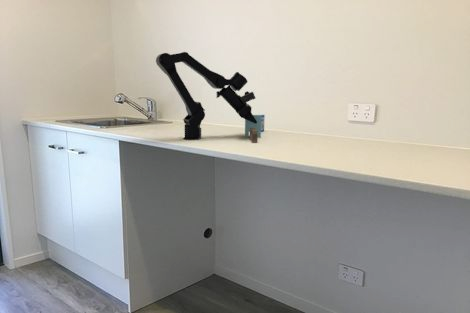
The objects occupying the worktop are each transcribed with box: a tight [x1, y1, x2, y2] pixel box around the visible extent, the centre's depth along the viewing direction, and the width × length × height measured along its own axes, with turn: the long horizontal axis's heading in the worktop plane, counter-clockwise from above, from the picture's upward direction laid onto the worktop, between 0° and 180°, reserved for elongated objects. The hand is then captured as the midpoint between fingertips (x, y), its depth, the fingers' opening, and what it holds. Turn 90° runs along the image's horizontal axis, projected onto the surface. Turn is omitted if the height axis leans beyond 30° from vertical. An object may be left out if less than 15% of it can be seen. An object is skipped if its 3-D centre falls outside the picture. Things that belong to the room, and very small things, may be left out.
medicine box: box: [249, 114, 266, 133], centre depth 190 cm, size 8×4×9 cm, turn 143°
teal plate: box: [244, 114, 262, 138], centre depth 171 cm, size 7×3×10 cm, turn 93°
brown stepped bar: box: [249, 127, 258, 144], centre depth 160 cm, size 12×2×5 cm, turn 3°
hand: (256, 122), depth 171 cm, fingers closed on teal plate, 3 cm apart
